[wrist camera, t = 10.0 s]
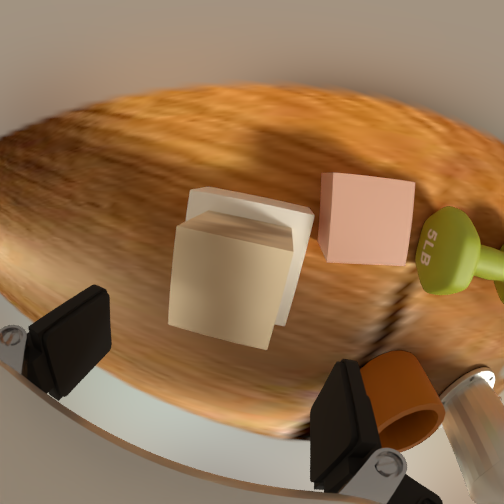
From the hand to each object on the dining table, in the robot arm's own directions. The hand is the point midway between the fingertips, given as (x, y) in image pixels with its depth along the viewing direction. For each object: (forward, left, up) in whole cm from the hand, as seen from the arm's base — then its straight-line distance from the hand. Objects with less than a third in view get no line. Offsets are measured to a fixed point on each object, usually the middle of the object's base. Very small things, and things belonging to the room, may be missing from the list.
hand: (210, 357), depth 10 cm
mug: (-18, +12, -16) cm, 26 cm away
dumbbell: (-22, -6, -16) cm, 28 cm away
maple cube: (+1, 0, -11) cm, 11 cm away
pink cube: (-7, -6, -16) cm, 18 cm away
